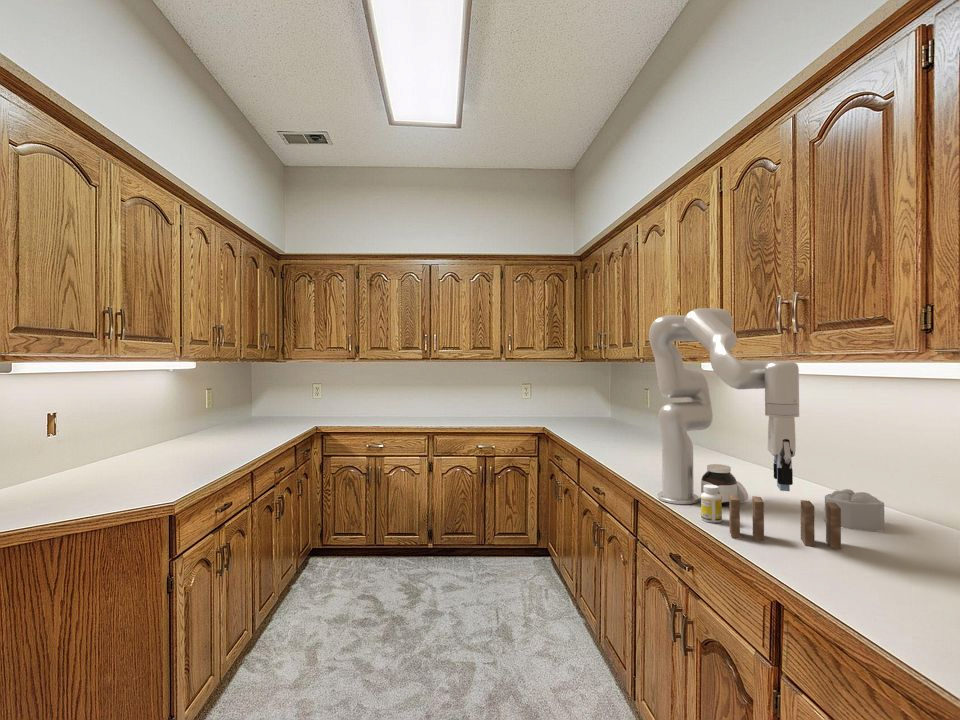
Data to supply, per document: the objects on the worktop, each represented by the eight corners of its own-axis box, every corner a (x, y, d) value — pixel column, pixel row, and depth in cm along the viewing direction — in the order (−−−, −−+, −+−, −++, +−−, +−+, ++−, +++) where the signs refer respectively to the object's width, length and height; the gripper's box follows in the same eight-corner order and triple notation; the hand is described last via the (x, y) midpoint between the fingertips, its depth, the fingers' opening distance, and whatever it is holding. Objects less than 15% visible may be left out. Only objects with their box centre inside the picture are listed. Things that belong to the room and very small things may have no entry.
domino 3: (805, 545, 128) (804, 505, 128) (800, 538, 133) (800, 499, 133) (814, 546, 127) (814, 506, 127) (809, 539, 132) (809, 500, 132)
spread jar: (697, 501, 166) (697, 465, 166) (715, 495, 173) (715, 460, 173) (734, 510, 157) (734, 472, 157) (752, 503, 164) (752, 466, 163)
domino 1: (731, 538, 134) (731, 499, 134) (729, 531, 139) (729, 494, 139) (740, 538, 133) (739, 500, 133) (737, 532, 138) (737, 495, 138)
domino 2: (755, 540, 132) (755, 501, 132) (752, 533, 137) (752, 496, 137) (764, 541, 131) (763, 502, 131) (761, 534, 136) (760, 496, 136)
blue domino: (780, 490, 130) (779, 450, 130) (777, 485, 134) (776, 447, 134) (789, 491, 129) (789, 451, 129) (785, 486, 134) (785, 447, 134)
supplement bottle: (720, 518, 150) (719, 484, 150) (723, 524, 145) (723, 489, 145) (699, 516, 151) (699, 483, 151) (702, 522, 146) (702, 488, 146)
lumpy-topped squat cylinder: (888, 532, 137) (888, 499, 137) (832, 528, 140) (832, 496, 140) (870, 519, 147) (870, 489, 147) (818, 516, 150) (818, 486, 150)
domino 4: (831, 548, 126) (831, 507, 126) (825, 541, 131) (825, 501, 131) (841, 549, 125) (840, 508, 125) (835, 542, 130) (835, 502, 130)
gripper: (760, 406, 141) (761, 473, 141) (770, 413, 125) (771, 488, 125) (792, 407, 138) (793, 475, 138) (806, 414, 122) (807, 491, 122)
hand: (782, 480), depth 132 cm, fingers closed on blue domino, 4 cm apart
